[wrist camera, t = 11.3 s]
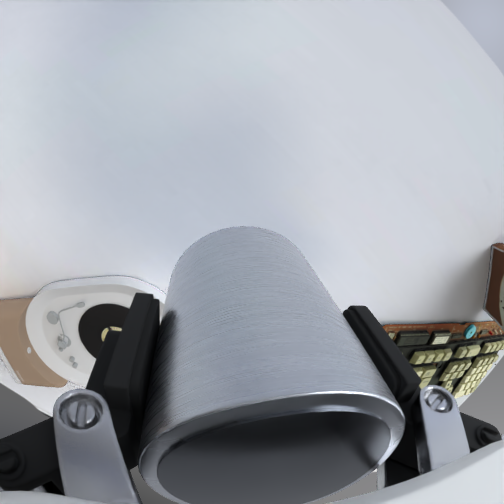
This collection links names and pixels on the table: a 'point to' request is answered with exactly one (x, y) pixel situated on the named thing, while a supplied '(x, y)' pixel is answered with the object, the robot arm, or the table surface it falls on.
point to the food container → (496, 286)
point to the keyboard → (449, 352)
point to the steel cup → (259, 381)
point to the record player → (65, 327)
